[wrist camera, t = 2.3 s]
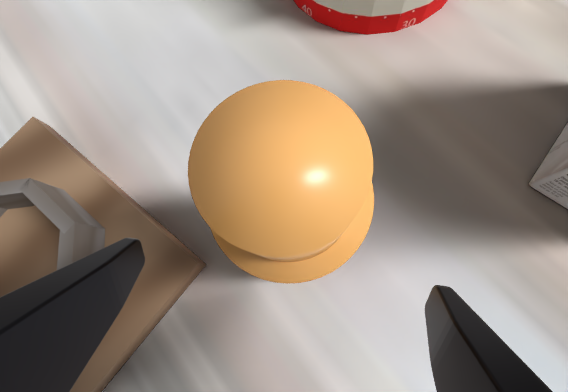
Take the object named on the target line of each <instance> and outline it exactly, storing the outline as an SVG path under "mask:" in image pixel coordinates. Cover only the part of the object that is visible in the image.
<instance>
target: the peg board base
mask: <svg viewBox="0 0 568 392" xmlns="http://www.w3.org/2000/svg"><path fill="white" fill-rule="evenodd" d="M124 238H135V239H139V240H140V241H141V244H142V248H143V252H144V256H145V264H144V266H143V268H142V270H141V272H140V274H139V276H138V278H137V280H136V282H135V284H134V286H133V288H132V290H131V292H130V294H129V296H128V298H127V300H126V302H125V304H124V306H123V308H122V309H121V311H120V313H119V314H118V316H117V318H116V319H115V321H114V322H113V324H112V325H111V327H110V329H109V330H108V332H107V333H106V335H105V337H104V338H103V340H102V341H101V343H100V344H99V346H98V348H97V349H96V351H95V352H94V354H93V355H92V357H91V359H90V360H89V362H88V363H87V365H86V367H85V368H84V370H83V371H82V373H81V374H80V376H79V378H78V379H77V381H76V382H75V384H74V385H73V387H72V389H71V390H70V392H102V391H103V389H104V388H105V387H106V386H107V385H108V383H109V382H110V381H111V380H112V378H113V377H114V376H115V375H116V374H117V372H118V371H119V370H120V369H121V368H122V366H123V365H124V364H125V363H126V361H127V360H128V359H129V358H130V357H131V355H132V354H133V353H134V352H135V351H136V349H137V348H138V347H139V346H140V344H141V343H142V342H143V341H144V340H145V338H146V337H147V336H148V335H149V334H150V332H151V331H152V330H153V329H154V327H155V326H156V325H157V324H158V323H159V321H160V320H161V319H162V318H163V317H164V315H165V314H166V313H167V312H168V310H169V309H170V308H171V307H172V306H173V304H174V303H175V302H176V301H177V300H178V298H179V297H180V296H181V295H182V293H183V292H184V291H185V290H186V289H187V287H188V286H189V285H190V284H191V283H192V281H193V280H194V279H195V278H196V276H197V275H198V274H199V273H200V272H201V270H202V269H203V268H204V267H205V266H206V264H205V263H204V262H203V261H202V260H201V259H200V258H198V257H197V256H196V255H195V254H194V253H193V252H192V251H191V250H189V249H188V248H187V247H186V246H185V245H184V244H183V243H181V242H180V241H179V240H178V239H177V238H176V237H175V236H174V235H172V234H171V233H170V232H169V231H168V230H167V229H166V228H165V227H163V226H162V225H161V224H160V223H159V222H158V221H157V220H155V219H154V218H153V217H152V216H151V215H150V214H149V213H148V212H146V211H145V210H144V209H143V208H142V207H141V206H140V205H139V204H137V203H136V202H135V201H134V200H133V199H132V198H131V197H129V196H128V195H127V194H126V193H125V192H124V191H123V190H122V189H120V188H119V187H118V186H117V185H116V184H115V183H114V182H113V181H111V180H110V179H109V178H108V177H107V176H106V175H105V174H103V173H102V172H101V171H100V170H99V169H98V168H97V167H96V166H94V165H93V164H92V163H91V162H90V161H89V160H88V159H87V158H85V157H84V156H83V155H82V154H81V153H80V152H79V151H77V150H76V149H75V148H74V147H73V146H72V145H71V144H70V143H68V142H67V141H66V140H65V139H64V138H63V137H62V136H60V135H59V134H58V133H57V132H56V131H55V130H54V129H53V128H51V127H50V126H48V125H47V124H45V123H43V122H41V121H40V120H38V119H36V118H34V117H32V118H31V119H30V120H29V121H28V122H27V123H26V124H25V125H24V126H23V127H22V128H21V129H20V130H19V131H18V132H17V133H16V134H15V135H14V136H13V137H12V138H11V139H10V140H9V141H8V142H7V143H6V144H5V145H4V146H3V147H2V148H0V297H2V296H4V295H6V294H8V293H10V292H12V291H14V290H17V289H19V288H21V287H23V286H25V285H27V284H29V283H31V282H33V281H35V280H38V279H40V278H42V277H44V276H46V275H48V274H50V273H52V272H54V271H57V270H59V269H61V268H63V267H65V266H67V265H69V264H71V263H73V262H75V261H78V260H80V259H82V258H84V257H86V256H88V255H90V254H92V253H94V252H97V251H99V250H101V249H103V248H105V247H107V246H109V245H111V244H113V243H115V242H118V241H120V240H122V239H124Z"/></svg>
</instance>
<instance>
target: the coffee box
mask: <svg viewBox="0 0 568 392" xmlns="http://www.w3.org/2000/svg"><path fill="white" fill-rule="evenodd" d="M529 185H530V186H531V187H532V188H534V189H536V190H537V191H539V192H541V193H542V194H544V195H545V196H547V197H549V198H550V199H552V200H554V201H555V202H557V203H559V204H560V205H562V206H563V207H565V208H567V209H568V123H567V124H566V126H565V128H564V129H563V131H562V132H561V134H560V135H559V137H558V139H557V140H556V142H555V143H554V145H553V146H552V148H551V149H550V151H549V153H548V154H547V156H546V157H545V159H544V160H543V162H542V164H541V165H540V167H539V168H538V170H537V171H536V173H535V174H534V176H533V178H532V179H531V181H530V182H529Z"/></svg>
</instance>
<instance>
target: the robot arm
mask: <svg viewBox="0 0 568 392" xmlns="http://www.w3.org/2000/svg"><path fill="white" fill-rule="evenodd" d="M144 264H145V256H144V252H143V248H142V244H141V241H140V240H139V239H135V238H124V239H122V240H120V241H118V242H115V243H113V244H111V245H109V246H107V247H105V248H103V249H101V250H99V251H97V252H94V253H92V254H90V255H88V256H86V257H84V258H82V259H80V260H78V261H75V262H73V263H71V264H69V265H67V266H65V267H63V268H61V269H59V270H57V271H54V272H52V273H50V274H48V275H46V276H44V277H42V278H40V279H38V280H35V281H33V282H31V283H29V284H27V285H25V286H23V287H21V288H19V289H17V290H14V291H12V292H10V293H8V294H6V295H4V296H2V297H0V392H70V390H71V389H72V387H73V385H74V384H75V382H76V381H77V379H78V378H79V376H80V374H81V373H82V371H83V370H84V368H85V367H86V365H87V363H88V362H89V360H90V359H91V357H92V355H93V354H94V352H95V351H96V349H97V348H98V346H99V344H100V343H101V341H102V340H103V338H104V337H105V335H106V333H107V332H108V330H109V329H110V327H111V325H112V324H113V322H114V321H115V319H116V318H117V316H118V314H119V313H120V311H121V309H122V308H123V306H124V304H125V302H126V300H127V298H128V296H129V294H130V292H131V290H132V288H133V286H134V284H135V282H136V280H137V278H138V276H139V274H140V272H141V270H142V268H143V266H144ZM425 317H426V326H427V335H428V344H429V353H430V361H431V367H432V372H433V377H434V381H435V386H436V390H437V392H552V391H551V390H550V389H549V388H548V386H547V385H546V384H545V383H544V382H543V381H542V380H541V379H540V378H539V377H538V376H537V375H536V374H535V373H534V372H533V371H532V370H531V369H530V368H529V367H528V366H527V365H526V364H525V363H524V362H523V361H522V360H521V359H520V358H519V357H518V356H517V355H516V354H515V353H514V352H513V351H512V350H511V349H510V348H509V347H508V346H507V345H506V343H505V342H504V341H503V340H502V339H501V338H500V337H499V336H498V335H497V334H496V333H495V332H494V331H493V330H492V329H491V328H490V327H489V326H488V325H487V324H486V323H485V322H484V321H483V320H482V319H481V318H480V317H479V316H478V315H477V314H476V313H475V312H474V311H473V310H472V309H471V308H470V307H469V306H468V305H467V304H466V303H465V301H464V300H463V299H462V298H461V297H460V296H459V295H458V294H457V293H456V292H455V291H454V290H453V289H452V288H450V287H447V286H440V285H435V286H434V287H433V288H432V290H431V293H430V295H429V297H428V300H427V302H426V305H425Z"/></svg>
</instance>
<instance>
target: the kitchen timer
mask: <svg viewBox="0 0 568 392" xmlns="http://www.w3.org/2000/svg"><path fill="white" fill-rule="evenodd" d="M294 2H295V3H296V4H297V6H298V7H299V8H300V9H301V10H303V11H304V12H305V13H306V14H308V15H309V16H310V17H312V18H313V19H314V20H315V21H317V22H319V23H322V24H324V25H327V26H329V27H332V28H334V29H337V30H339V31H344V32H352V33H359V34H367V35H368V34H378V33H387V32H395V31H398V30H401V29H404V28H407V27H410V26H412V25H415V24H418V23H421V22H422V21H424V20H425V19H426V18H428V17H429V16H431V15H432V14H434V13H435V12H437V11H438V10H440V9H441V8H442V7H443V6H444V4H445V3H446V2H447V0H294Z"/></svg>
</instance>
